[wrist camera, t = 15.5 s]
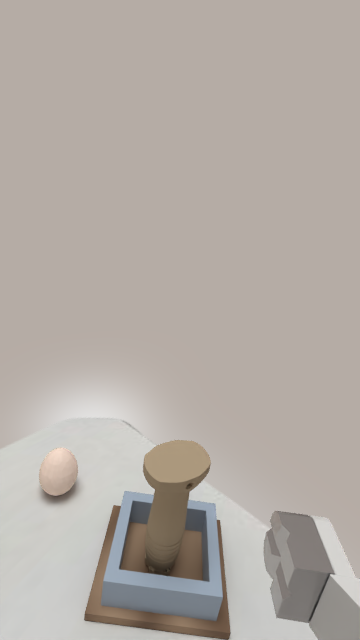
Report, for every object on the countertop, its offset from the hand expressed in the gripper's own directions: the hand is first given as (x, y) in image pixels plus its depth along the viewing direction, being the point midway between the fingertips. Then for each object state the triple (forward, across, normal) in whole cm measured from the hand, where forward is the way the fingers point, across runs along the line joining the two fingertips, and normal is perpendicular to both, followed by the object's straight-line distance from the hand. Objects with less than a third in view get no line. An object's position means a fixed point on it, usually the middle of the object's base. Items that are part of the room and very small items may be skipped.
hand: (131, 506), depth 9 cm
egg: (+27, +12, +30) cm, 42 cm away
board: (+19, -3, +30) cm, 36 cm away
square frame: (+19, -3, +30) cm, 36 cm away
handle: (+18, -3, +29) cm, 35 cm away
